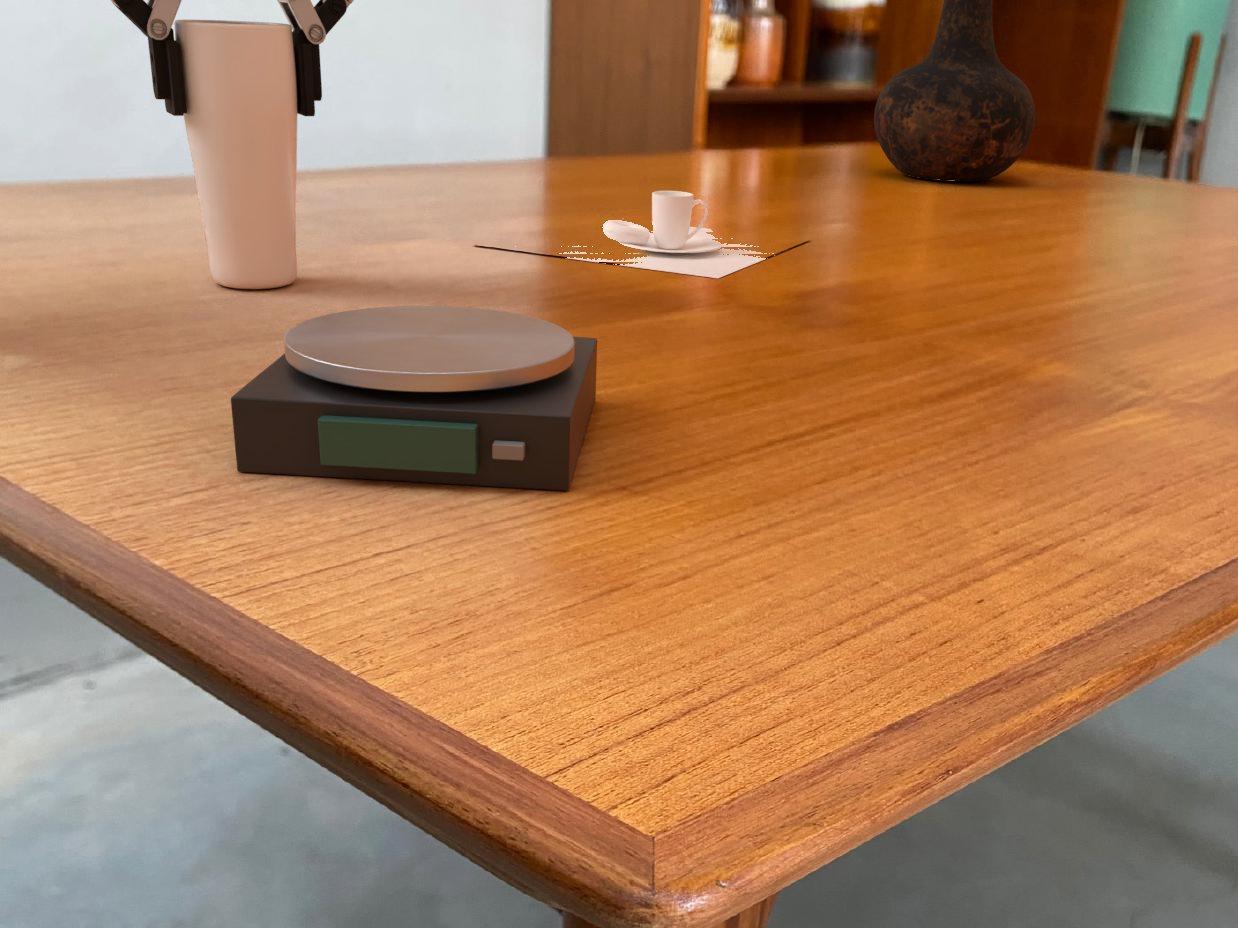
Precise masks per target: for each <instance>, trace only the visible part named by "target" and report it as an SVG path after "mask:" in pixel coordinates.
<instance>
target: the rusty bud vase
mask: <svg viewBox="0 0 1238 928" xmlns="http://www.w3.org/2000/svg"><path fill="white" fill-rule="evenodd" d="M993 24H994V23H993V0H943V3H942V9H941V14H940V18H939V22H938V26H937V30H936V34H935V37H934V40H933V43H932V46H931V48H930V50H929V52H928V53H927V55H926V56H925V57H924V58H923V59H922V60H921V61H920V62H918V63H916V64H914V65H912V66H909V67H906V68H904V69H903V70H901V71H899V72H898V73H896V74H895V75H894V76H893V77H892V78H891V79H890V80H889V81H887V83H886V84H885V85H884V87H883V88H882V90H881V91H880V93H879V95H878V98H877V100H876V103H875V107H874V112H873V113H874V115H873V124H874V131H875V135H876V137H877V141H878V143H879V144H878V145H880V148H881V150H882V152H883V153H884V155H885V157H886V158H887V160H888V161H889V162H890V164H891V165H893V167H894V168H895V169H896V170H898V172H900V173H901V174H904V175H905V174H906V175H905V176H907V175H910V176H914V177H919V178H918V179H920V178H927V179H926V180H928V179H940V180H955V181H974V182H977V181H976V180H982V181H986V179H987V180H989V179H990V180H991V179H993V178H995V177H997V176H999V175H1001V174H1002V173H1004V172H1006V171H1007V170H1008V169H1009V168H1010V167H1012V166H1013V165H1014V164H1015V162H1016V161H1018V159H1019V158H1020V157H1021V155H1022V154H1024V152H1025V150H1026V148H1027V146H1028V145H1029V142H1030V140H1031V138H1032V134H1033V132H1034V128H1035V123H1036V107H1035V103H1034V99H1033V95H1032V94H1031V91H1030V90H1029V88H1028V87H1027V85H1026V84H1025V82H1024V81H1023V80H1022V79H1020V78H1019V77H1018V76H1017V75H1016V74H1014V73H1013V72H1012V71H1010V70H1009V69H1007V68H1006V66H1004V65H1003V64H1002V62H1001V61H1000V59H999V57H998V55H997V51H996V46H995V39H994V38H995V37H994V25H993ZM910 176H909V177H910ZM914 177H913V178H914Z"/></svg>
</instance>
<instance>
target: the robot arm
mask: <svg viewBox="0 0 1238 928" xmlns="http://www.w3.org/2000/svg"><path fill="white" fill-rule="evenodd" d="M354 1H355V0H318V1H317V3H316V4H315V5H314V4H313V2H312V1H311V0H277V2H278V5H279V6H280V8H281V11H282V12H283V14H284V16H285V18H286V20H287V22H288V24H289V25H291V27H292V36H293V44H294V53H295V64H296V77H297V115H301V116H304V117H315V115H316V105H315V102H321V101H322V99H323V88H322V86H323V85H322V70H321V69H322V67H321V53H320V52H321V51H320V45H321V44H322V43H323V42H324V41H325V40H326V37H327V35H328V34H329V33H330V32H331V31H332V29H333V28H334V27H335V26H336V24H337V23H338V22H339V21H340V20H341V19H342V18H343V17H344V16H345V14H346V13H347V11H348V10H347V9H348V8H349V6H350V5H351V4H352V3H353V2H354ZM110 2H111V3H112V4H113V5H114V7H116V8H117V10H119V12H121V13H122V14H123V15H124V16H125V17H126V18H127V19H128V20H129V21H130V22H131V23H132V24H133V25H134V26H135V27H137V29H138V30H140V32H141V33H142V34H143V36H145V37H146V38H147V41H148V42H147V43H148V44H147V45H148V52H149V62H150V70H151V80H152V89H153V90H152V91H153V94H154V98H155V100H164V106H165V111H166V113H168V114H170V115H172V116H174V117H184V113H187V107H186V96H185V86H184V76H183V66H182V55H181V46H180V43H177V41H175V31H174V29H173V28H172V26H173V24H174V22H175V19H176V15H177V13H178V11H179V8H180V6H181V3H182V0H147V2H146V1H145V0H110Z"/></svg>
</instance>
